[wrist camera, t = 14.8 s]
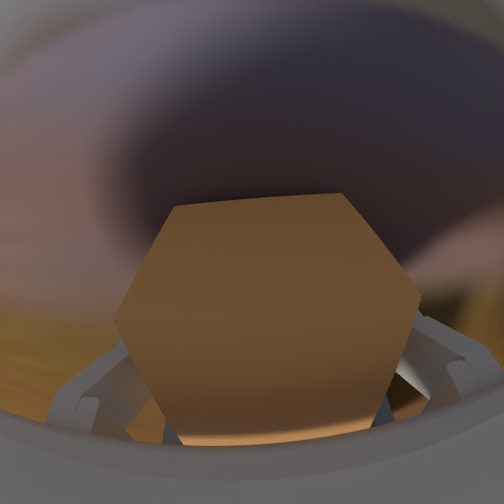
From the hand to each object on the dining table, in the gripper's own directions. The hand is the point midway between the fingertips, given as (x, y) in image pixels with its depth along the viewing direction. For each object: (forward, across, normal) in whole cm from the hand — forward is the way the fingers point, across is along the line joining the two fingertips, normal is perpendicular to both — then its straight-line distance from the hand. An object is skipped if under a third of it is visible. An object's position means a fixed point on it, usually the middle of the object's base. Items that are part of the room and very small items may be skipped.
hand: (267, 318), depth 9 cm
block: (+2, 0, -1) cm, 2 cm away
